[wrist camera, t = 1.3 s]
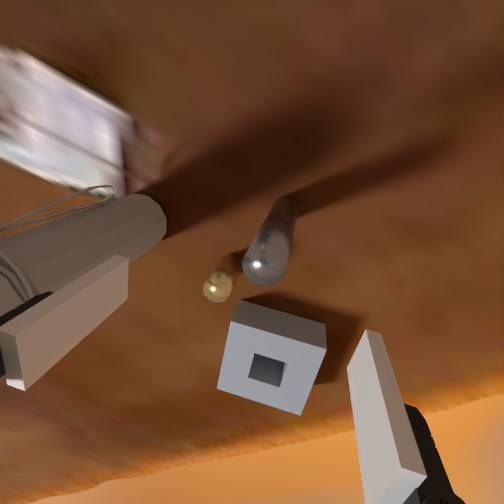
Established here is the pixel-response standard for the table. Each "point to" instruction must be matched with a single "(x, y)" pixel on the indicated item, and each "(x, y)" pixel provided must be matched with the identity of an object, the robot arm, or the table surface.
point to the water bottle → (75, 244)
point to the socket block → (272, 356)
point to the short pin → (223, 278)
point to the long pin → (272, 244)
